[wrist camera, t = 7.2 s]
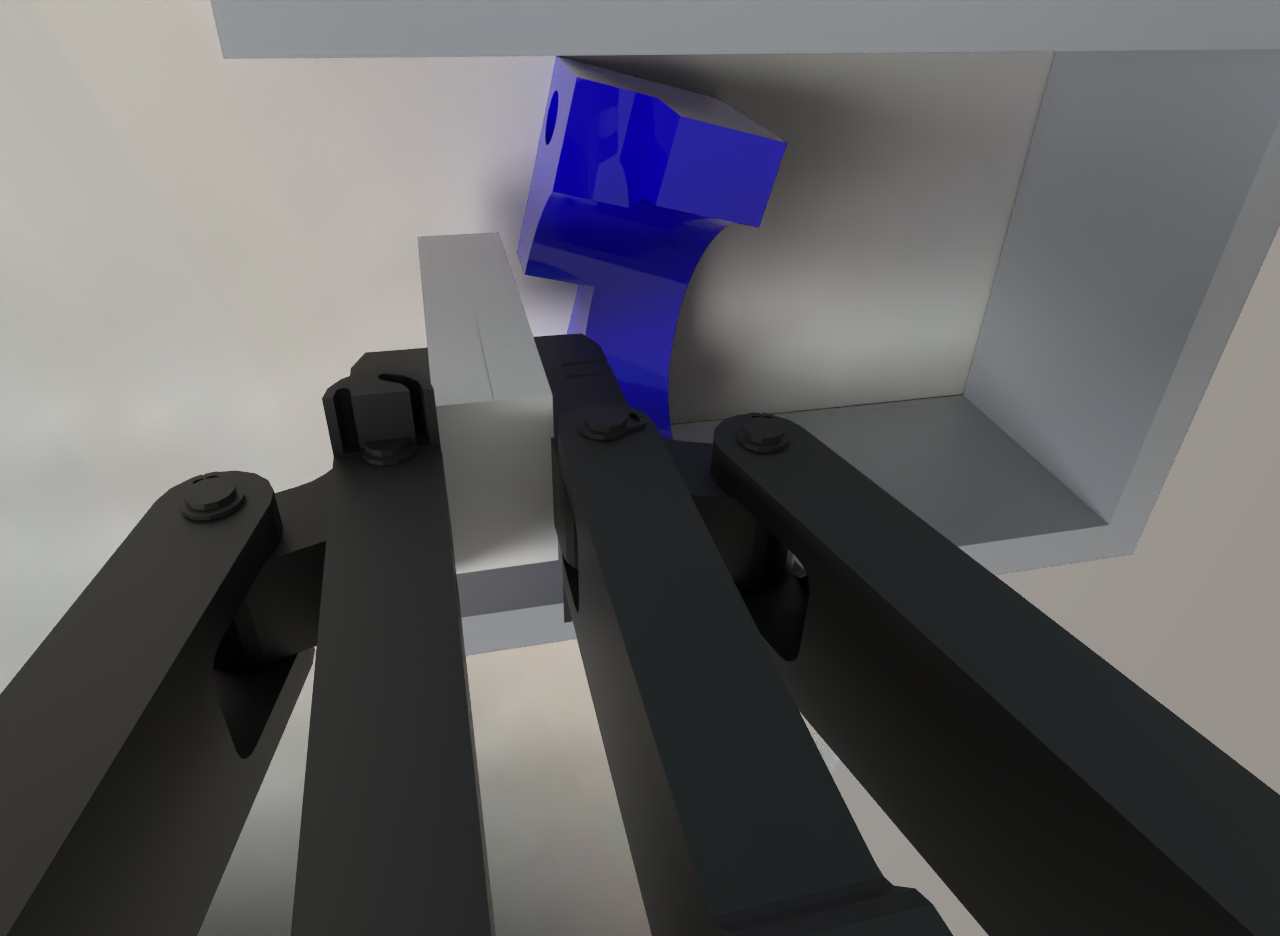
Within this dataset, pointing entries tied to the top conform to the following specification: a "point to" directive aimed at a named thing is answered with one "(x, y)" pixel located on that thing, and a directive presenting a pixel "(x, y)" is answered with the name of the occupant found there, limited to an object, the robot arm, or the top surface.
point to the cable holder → (637, 209)
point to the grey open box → (1030, 259)
